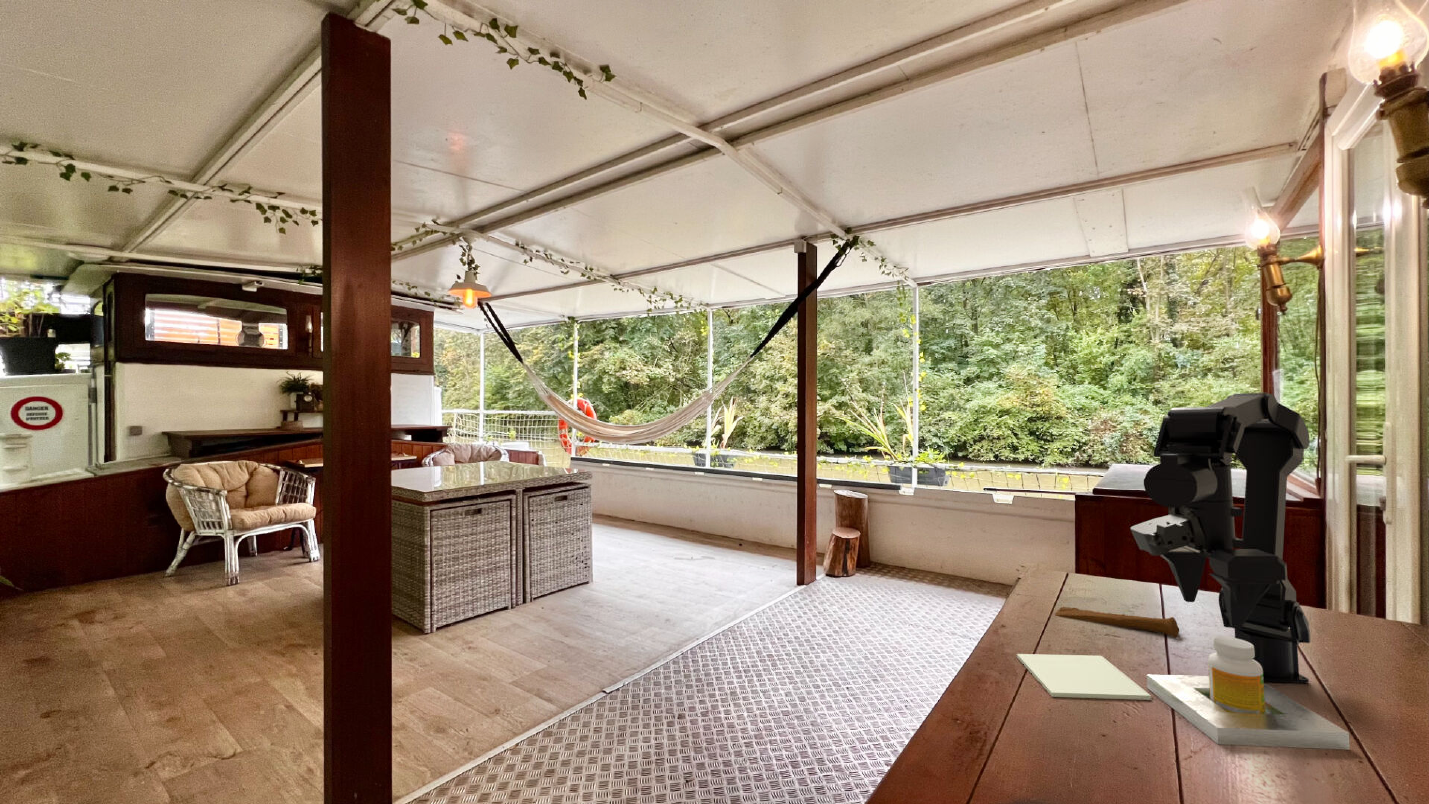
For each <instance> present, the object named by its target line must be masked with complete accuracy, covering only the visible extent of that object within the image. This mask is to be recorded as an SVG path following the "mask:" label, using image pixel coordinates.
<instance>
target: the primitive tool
mask: <svg viewBox="0 0 1429 804" xmlns="http://www.w3.org/2000/svg"><path fill="white" fill-rule="evenodd" d="M1054 615H1055V617H1060V618H1067V619H1072V618H1073V620H1079V621H1085V622H1093V623H1098V624H1104V625H1108V626H1110V625H1111V626H1116V627H1122V628H1128V629H1133V630H1134V629H1136V630H1141V631H1148V632H1153V633H1159V634H1164V635H1167V636H1170V637H1172V638H1177V637H1178V636H1179V634H1180V627H1179V626H1178V623H1177V620H1176V618H1175V617H1174V616H1170V617H1168V618H1159V617H1146V616H1138V615H1128V614H1127V615H1126V614H1117V613H1111V612H1109V613H1108V612H1107V613H1106V612H1101V611H1100V612H1099V611H1093V610H1088V609H1080V608H1077V607H1070V606H1069V607H1065V606H1062V607H1059V609H1058V610H1057V611H1056V612H1055V613H1054Z"/></svg>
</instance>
